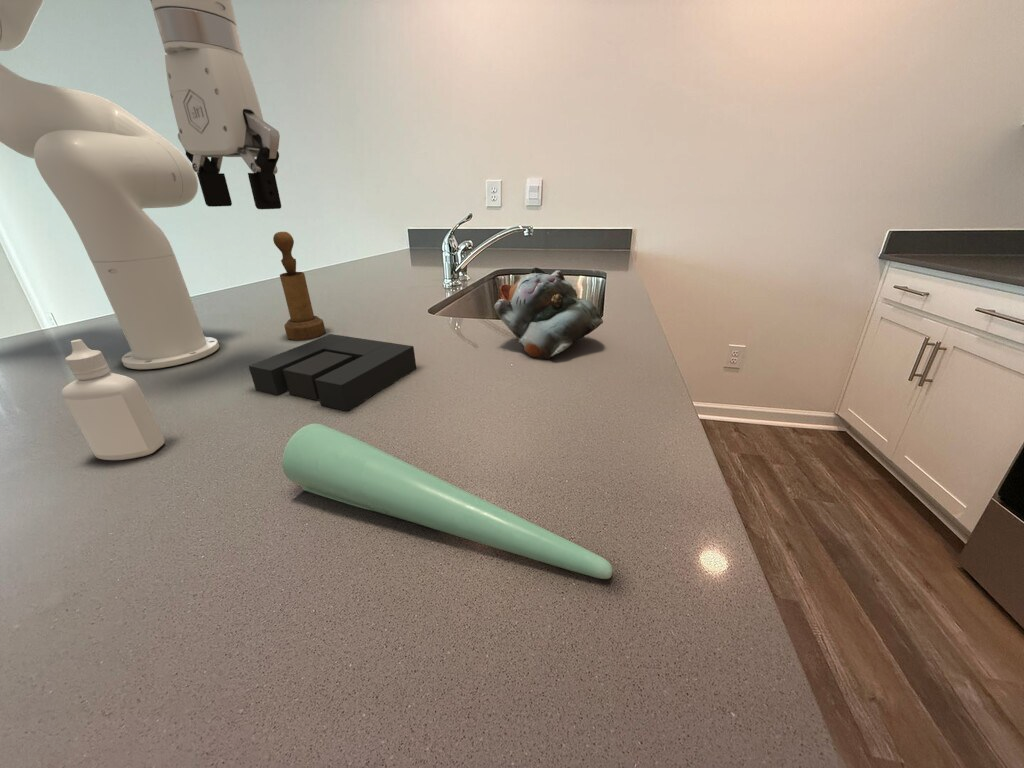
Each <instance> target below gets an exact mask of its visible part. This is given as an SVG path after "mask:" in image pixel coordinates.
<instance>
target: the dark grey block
mask: <svg viewBox="0 0 1024 768" xmlns="http://www.w3.org/2000/svg"><path fill="white" fill-rule="evenodd" d="M352 361H353V358H352V356H349V355H343V354H337V353H331V352H323V353H320V354H318V355H316V356H313V357H311V358H309V359H306V360H304V361H302V362H299V363H297V364H295V365H292V366H290V367H288V368H285V369H283V373H284V376H285V380H286V383H287V387H288V390H287V391H288V394H289V395H293V396H297V397H302V398H305V399H309V400H314V401H320V399H319V395H318V391H317V387H316V383H315V379H317V378H319V377H321V376H323V375H325V374H327V373H329V372H331V371H333V370H335V369H337V368H339V367H341V366H344V365H346V364H348V363H350V362H352Z"/></svg>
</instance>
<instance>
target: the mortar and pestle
mask: <svg viewBox="0 0 1024 768" xmlns="http://www.w3.org/2000/svg"><path fill="white" fill-rule="evenodd" d="M273 244H274V246H275V247H276V248H277V249H278V250H279V251H280V253H281V255H282V256H281V257H282V259H281V260H280V262H281V264H282V266H283V268H284V270H285V272H282V273H280V274H279V278H280V282H281V286H282V290H283V293H284V298H285V302H286V306H287V310H288V315H289V319H288V320H287V321H286V323H284V330H285V335H286V338H287V339H289V340H293V341H304V340H310V339H314V338H318V337H322V336H323V335H325V334H326V326H325V323H324V320H323V319H322V318H320V317H319V316H318V315H315V313H314V310H313V305H312V301H311V296H310V292H309V287H308V284H307V279H306V275H305V272H304V271H297V259H296V258H294V257H293V253H292V251H293V247H294V244H295V240H294V237H293V235H292V234H291V233H289V232H288V231H278V232H276V233H274V234H273Z"/></svg>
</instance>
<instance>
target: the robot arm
mask: <svg viewBox="0 0 1024 768" xmlns="http://www.w3.org/2000/svg"><path fill="white" fill-rule="evenodd" d="M149 1H150V4H151V7H152V11H153V14H154V18H155V21H156V25H157V29H158V32H159V36H160V40H161V43H162V45H163V50H164V52H165V53H166V54H164V61H165V71H166V72H165V73H166V79H167V85H168V90H169V95H170V101H171V104H172V110H173V113H174V117H175V121H176V125H177V130H178V133H177V139H178V141H179V143H180V144H181V146H182V148H183V150H184V151H185V155H184V153H183V152H182V151H181V150H180V149H179V148H178V147H176V145H174V144H173V143H172V142H170V141H169V140H167V138H165V137H163V136H162V135H161V134H160V133H158V132H156V130H154V129H153V128H151V127H150V126H149V125H148V124H146V123H144V122H143V121H142V120H140V119H138V118H137V117H136V116H134V115H133V114H132V113H130V112H129V111H127V110H126V109H124V108H123V107H122V106H120V105H119V104H117V103H115V102H113V101H112V100H109V99H107V98H105V97H103V96H101V95H98V94H95V93H91V92H88V91H83V90H78V89H72V88H67V87H63V86H57V85H52V84H49V83H44V82H43V83H42V82H39V81H35V80H34V81H33V80H30V79H28V78H25V77H23V76H21V75H19V74H18V73H16V72H14V71H12V70H11V69H9V68H8V67H6V66H5V65H3V64H2V63H1V62H0V143H1V144H3V145H5V146H6V147H8V148H9V149H11V150H12V151H14V152H15V153H18V154H20V155H21V156H24V157H27V158H29V159H33V160H34V162H35V166H36V168H37V170H38V172H39V175H40V176H41V177H42V179H43V181H44V183H45V184H46V185H47V187H48V188H49V190H50V191H51V192H52V194H53V196H54V197H55V198H56V199H57V201H58V202H59V204H60V206H61V207H62V208H63V210H64V211H65V213H66V215H67V217H68V218H69V221H71V224H72V225H73V227H74V229H75V230H76V232H77V235H78V236H79V239H80V240H81V243H82V245H83V247H84V249H85V251H86V253H87V256H88V258H89V260H90V262H91V264H92V266H93V268H94V270H95V273H96V275H97V277H98V279H99V282H100V284H101V286H102V289H103V291H104V293H105V295H106V297H107V299H108V301H109V304H110V306H111V308H112V310H113V312H114V315H115V317H116V319H117V321H118V324H119V326H120V328H121V331H122V332H123V334H124V337H125V339H126V342H127V344H128V347H129V348H130V351H128V352H126V353H124V355H123V356H122V357H121V362H122V365H123V366H124V367H125V368H127V369H130V370H131V369H132V370H153V369H154V370H156V369H163V368H169V367H174V366H175V367H176V366H180V365H183V364H187V363H192V362H195V361H197V360H200V359H203V358H205V357H208V356H210V355H213V353H215V352H216V351H218V350H219V348H220V343H219V341H218V339H216V338H214V337H210V336H205V334H204V331H203V328H202V325H201V322H200V320H199V318H198V315H197V312H196V309H195V306H194V303H193V300H192V298H191V295H190V292H189V290H188V287H187V284H186V282H185V279H184V276H183V273H182V271H181V270H182V269H181V268H180V265H179V262H178V260H177V256H176V254H175V252H174V249H173V246H172V244H171V241H170V240H169V238H168V236H167V234H166V233H165V232H164V230H163V229H162V228H161V227H160V225H158V224H157V223H156V222H155V220H154V219H152V217H150V216H149V215H148V214H147V213H146V212H145V211H144V209H161V208H162V209H163V208H175V207H176V208H177V207H182V206H185V205H187V204H189V203H191V202H192V201H194V199H195V198H196V196H197V194H198V191H199V185H200V190H201V192H202V196H203V200H204V204H205V206H207V207H209V208H210V207H211V208H214V207H215V208H217V207H231V206H232V205H233V202H232V198H231V194H230V190H229V188H228V183H227V178H226V176H225V175H226V174H225V173H224V172H223V173H220V171H221V168H222V164H223V160H224V159H223V158H241V159H242V160H243V162H244V163H245V164H246V166H247V167H248V168H249V169H250V171H251V172H247V177H248V181H249V186H250V189H251V193H252V194H251V195H252V197H253V202H254V206H255V208H256V209H257V210H281V208H282V202H281V197H280V193H279V188H278V187H279V186H278V184H277V178H276V174H278V166H277V164H278V161H279V158H280V153H279V147H280V136H281V135H280V132H279V131H278V130H277V129H276V128H275V127H274V126H272V125H270V124H269V123H267V121H265V120H264V117H263V113H262V109H261V105H260V102H259V98H258V96H257V95H258V94H257V91H256V88H255V85H254V81H253V79H252V76H251V73H250V70H249V67H248V65H247V63H246V60H245V57H244V52H243V49H242V48H243V47H242V44H241V39H240V33H239V30H238V26H237V21H236V16H235V12H234V7H233V2H232V0H149ZM44 2H45V0H0V51H1V52H3V51H4V52H9V51H14V50H16V49H18V48H20V47H21V46H22V45H23V43H24V42H25V41H26V39H27V37H28V35H29V34H30V31H31V29H32V27H33V25H34V22H35V20H36V18H37V17H38V14H39V13H40V10H41V8H42V7H43V4H44Z"/></svg>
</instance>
